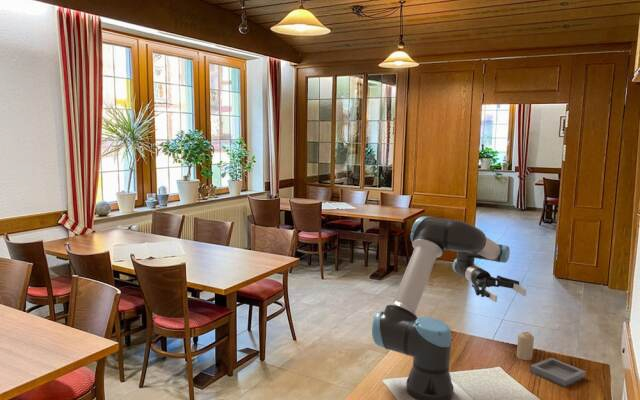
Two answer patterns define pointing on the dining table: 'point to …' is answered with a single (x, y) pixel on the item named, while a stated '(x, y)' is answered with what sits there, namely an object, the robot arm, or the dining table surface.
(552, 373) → the charcoal dish
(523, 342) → the candle
